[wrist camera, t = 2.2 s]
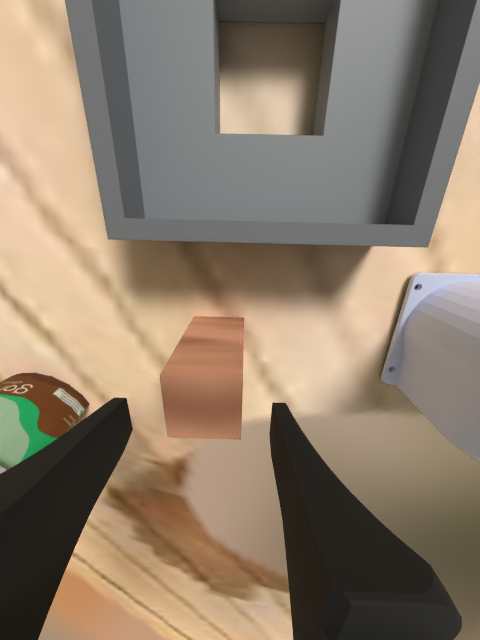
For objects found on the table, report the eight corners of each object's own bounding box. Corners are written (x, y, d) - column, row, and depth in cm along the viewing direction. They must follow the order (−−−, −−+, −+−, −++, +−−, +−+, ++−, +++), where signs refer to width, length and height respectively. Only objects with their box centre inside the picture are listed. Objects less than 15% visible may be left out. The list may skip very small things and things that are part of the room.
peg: (242, 360, 20) (240, 439, 12) (196, 359, 20) (167, 437, 13) (243, 317, 18) (242, 378, 11) (194, 316, 18) (159, 375, 11)
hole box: (375, 241, 16) (427, 247, 11) (147, 236, 16) (108, 239, 12) (463, -143, 10) (648, -458, 5) (101, -144, 10) (-17, -451, 6)
